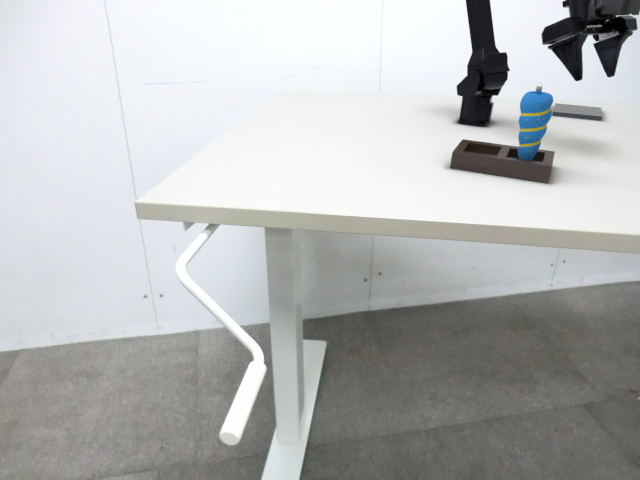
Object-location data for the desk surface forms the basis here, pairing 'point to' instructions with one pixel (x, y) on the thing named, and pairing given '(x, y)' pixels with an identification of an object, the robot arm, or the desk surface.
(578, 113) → the coaster
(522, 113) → the ornament
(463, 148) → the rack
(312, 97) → the desk surface
